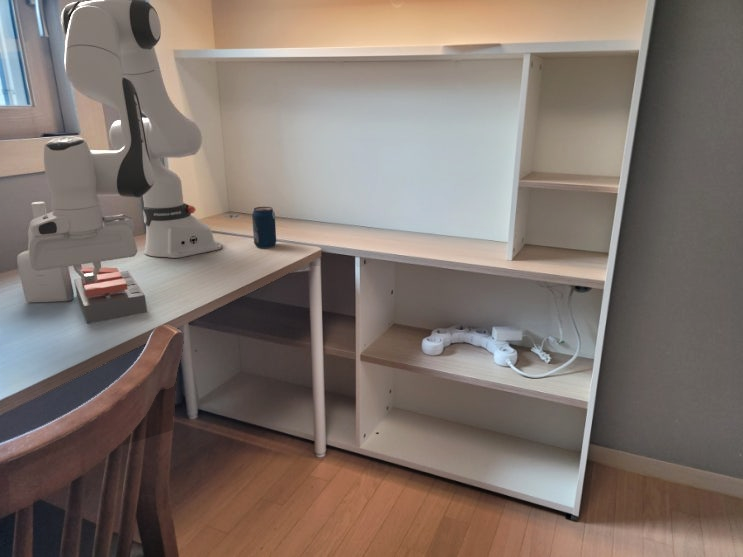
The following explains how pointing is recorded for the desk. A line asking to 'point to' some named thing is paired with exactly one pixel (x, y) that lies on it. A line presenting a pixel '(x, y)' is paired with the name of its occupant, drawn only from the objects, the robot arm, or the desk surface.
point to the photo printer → (44, 282)
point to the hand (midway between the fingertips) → (90, 282)
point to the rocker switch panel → (112, 301)
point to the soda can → (264, 227)
